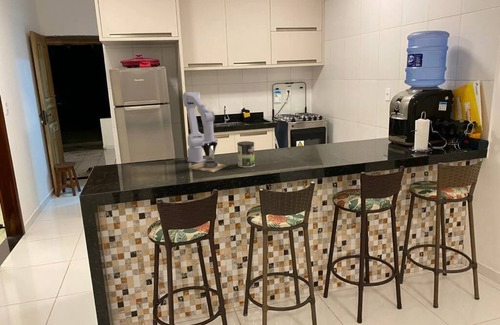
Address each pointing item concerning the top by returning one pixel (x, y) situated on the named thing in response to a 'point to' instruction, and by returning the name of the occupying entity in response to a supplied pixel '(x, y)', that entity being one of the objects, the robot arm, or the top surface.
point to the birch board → (200, 167)
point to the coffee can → (245, 154)
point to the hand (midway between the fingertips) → (209, 155)
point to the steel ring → (210, 164)
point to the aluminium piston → (210, 153)
